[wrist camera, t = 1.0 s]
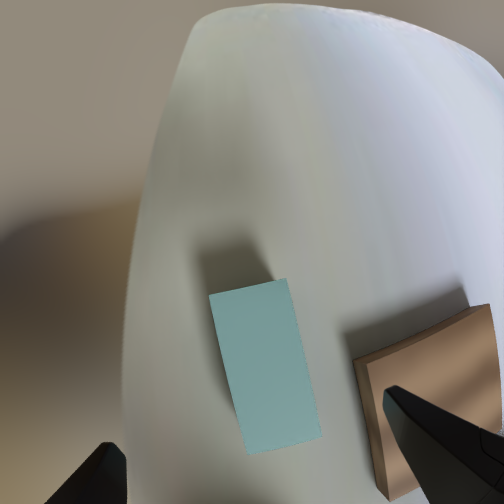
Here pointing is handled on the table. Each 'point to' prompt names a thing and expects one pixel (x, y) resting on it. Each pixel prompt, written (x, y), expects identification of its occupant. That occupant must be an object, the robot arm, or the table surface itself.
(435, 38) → the table surface
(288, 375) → the block
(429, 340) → the stand
